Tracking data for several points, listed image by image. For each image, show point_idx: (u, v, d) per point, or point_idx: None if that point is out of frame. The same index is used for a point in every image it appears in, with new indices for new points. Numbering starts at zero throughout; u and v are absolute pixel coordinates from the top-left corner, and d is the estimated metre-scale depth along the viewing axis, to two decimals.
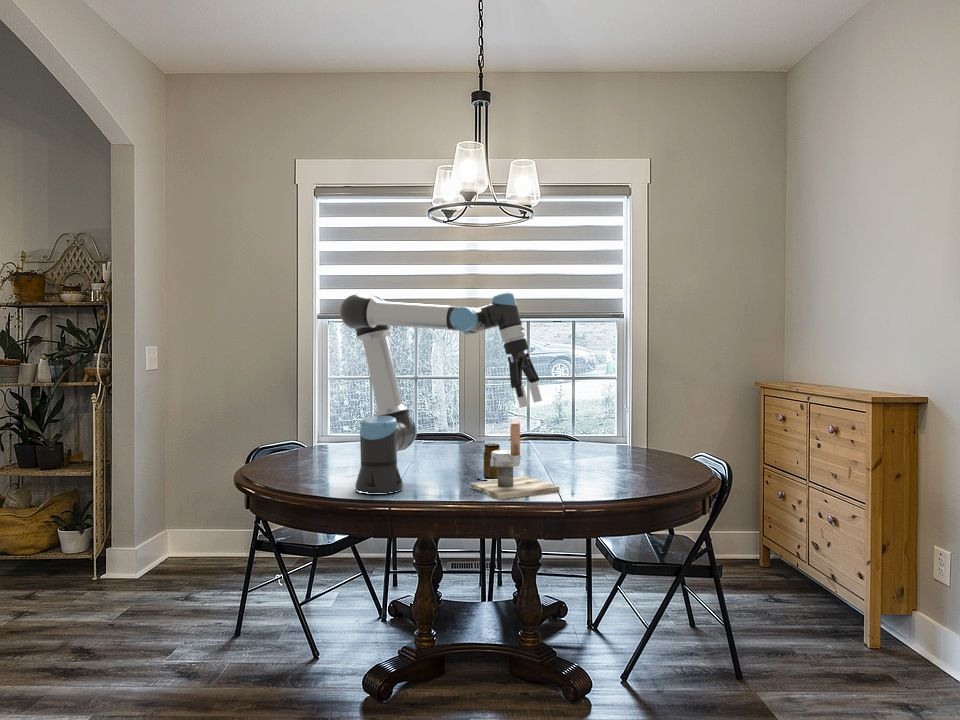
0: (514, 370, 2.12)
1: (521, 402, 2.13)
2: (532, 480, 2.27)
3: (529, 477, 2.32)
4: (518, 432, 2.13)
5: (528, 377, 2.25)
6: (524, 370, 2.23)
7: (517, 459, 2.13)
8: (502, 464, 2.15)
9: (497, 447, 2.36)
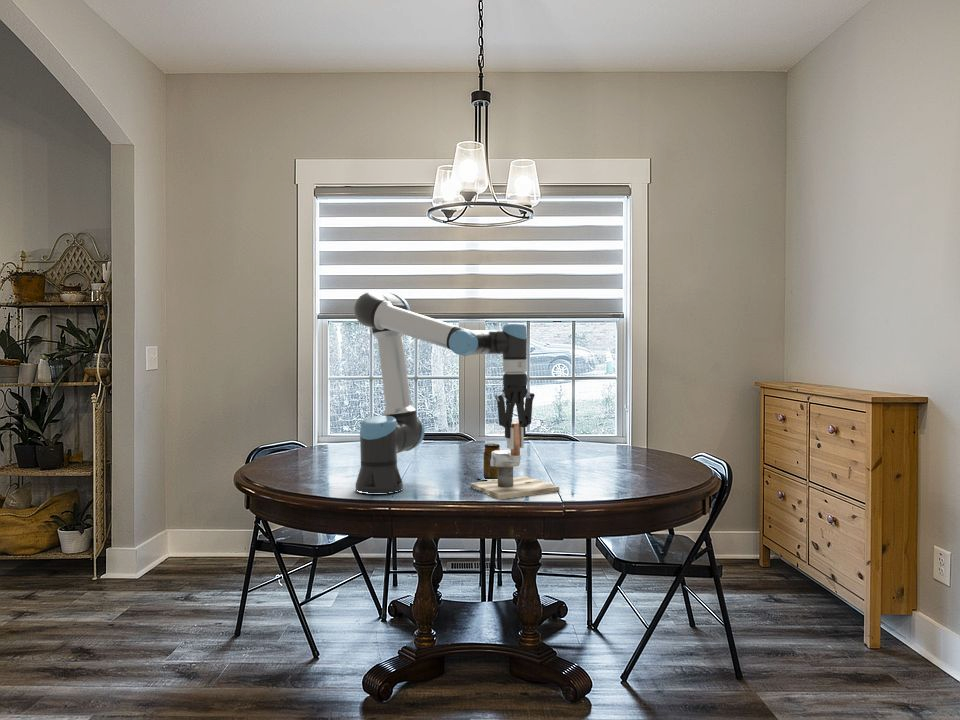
0: (500, 411, 2.10)
1: (508, 443, 2.13)
2: (532, 480, 2.27)
3: (529, 477, 2.32)
4: (518, 432, 2.13)
5: (519, 417, 2.15)
6: (517, 407, 2.15)
7: (517, 459, 2.13)
8: (502, 464, 2.15)
9: (497, 447, 2.36)
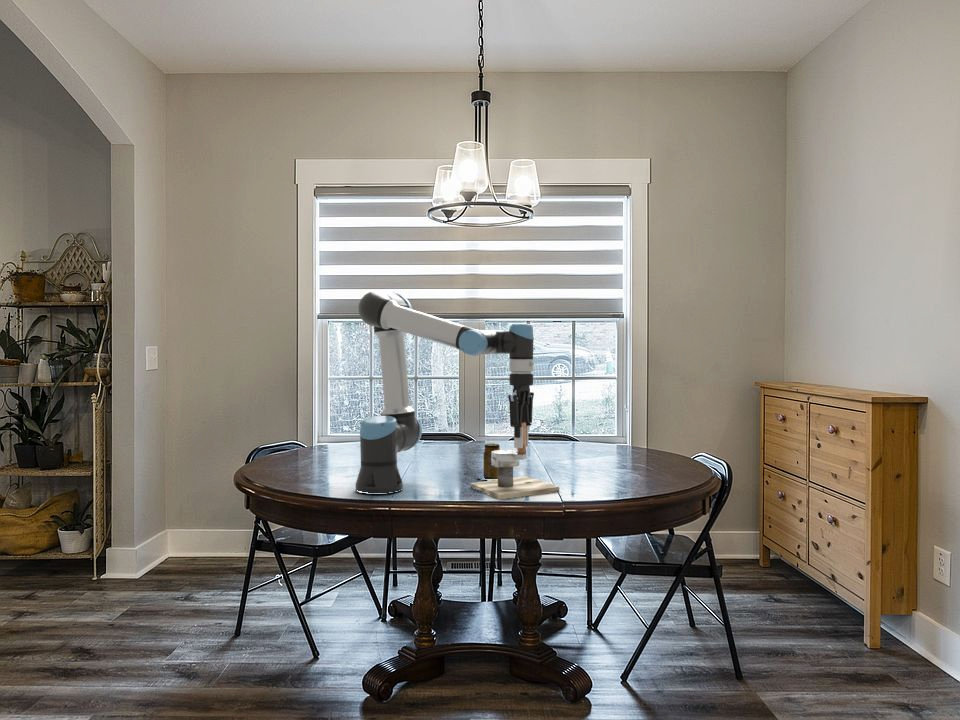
0: (514, 411, 2.10)
1: (516, 442, 2.14)
2: (532, 480, 2.27)
3: (529, 477, 2.32)
4: (525, 431, 2.15)
5: (522, 416, 2.17)
6: None
7: (524, 458, 2.15)
8: (509, 464, 2.15)
9: (497, 447, 2.36)
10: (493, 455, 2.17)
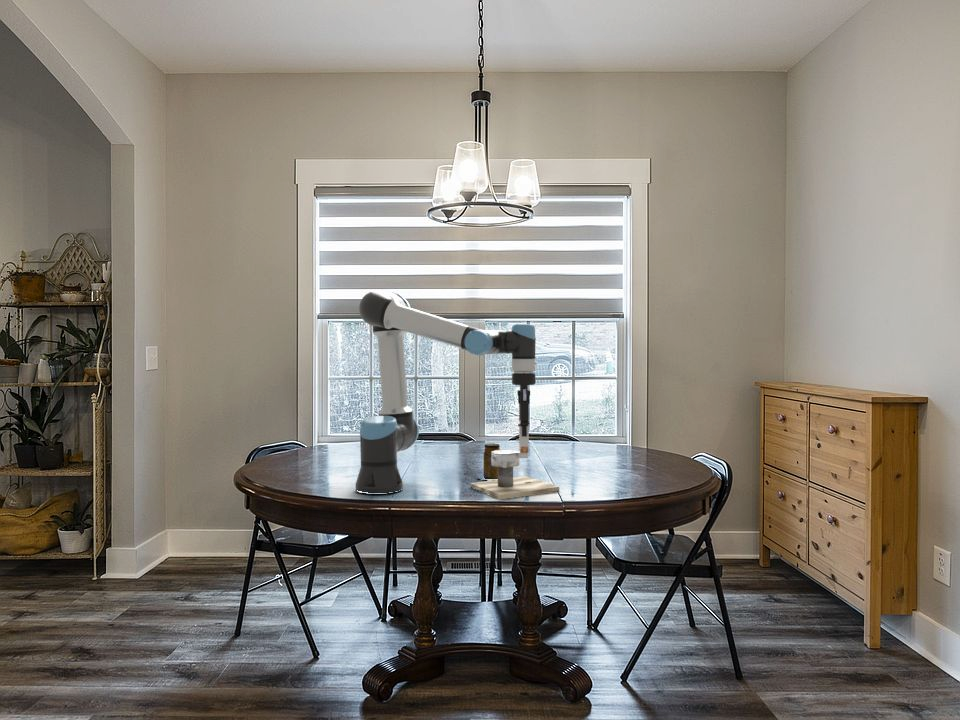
0: (526, 410, 2.13)
1: (522, 441, 2.16)
2: (532, 480, 2.27)
3: (529, 477, 2.32)
4: None
5: None
6: None
7: None
8: (515, 463, 2.16)
9: (497, 447, 2.36)
10: (498, 456, 2.15)
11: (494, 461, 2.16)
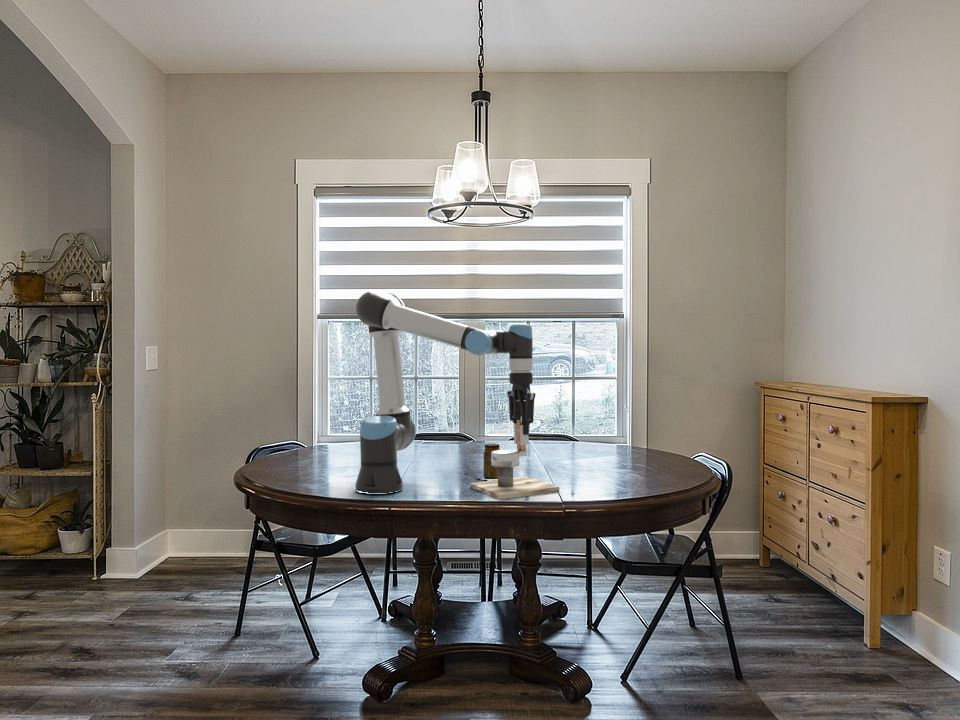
0: (531, 408, 2.17)
1: (524, 440, 2.19)
2: (532, 480, 2.27)
3: (529, 477, 2.32)
4: None
5: (516, 415, 2.23)
6: (517, 405, 2.22)
7: None
8: None
9: (497, 447, 2.36)
10: (506, 456, 2.15)
11: (500, 462, 2.15)
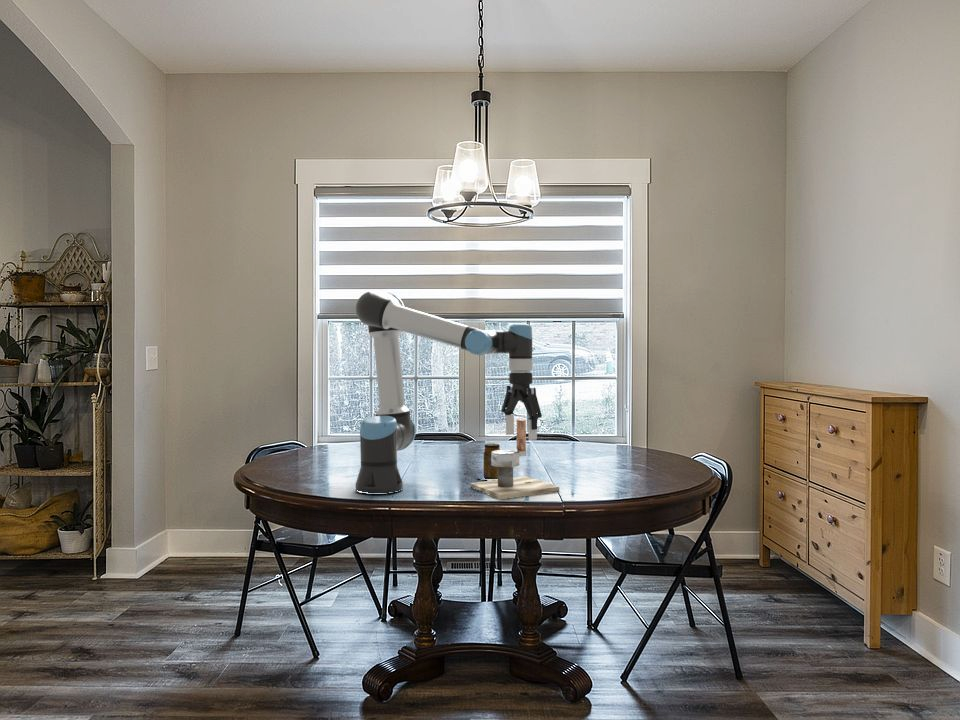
0: (536, 402, 2.15)
1: (532, 434, 2.15)
2: (532, 480, 2.27)
3: (529, 477, 2.32)
4: None
5: (509, 409, 2.26)
6: (513, 402, 2.24)
7: None
8: None
9: (497, 447, 2.36)
10: (506, 456, 2.15)
11: (500, 462, 2.15)
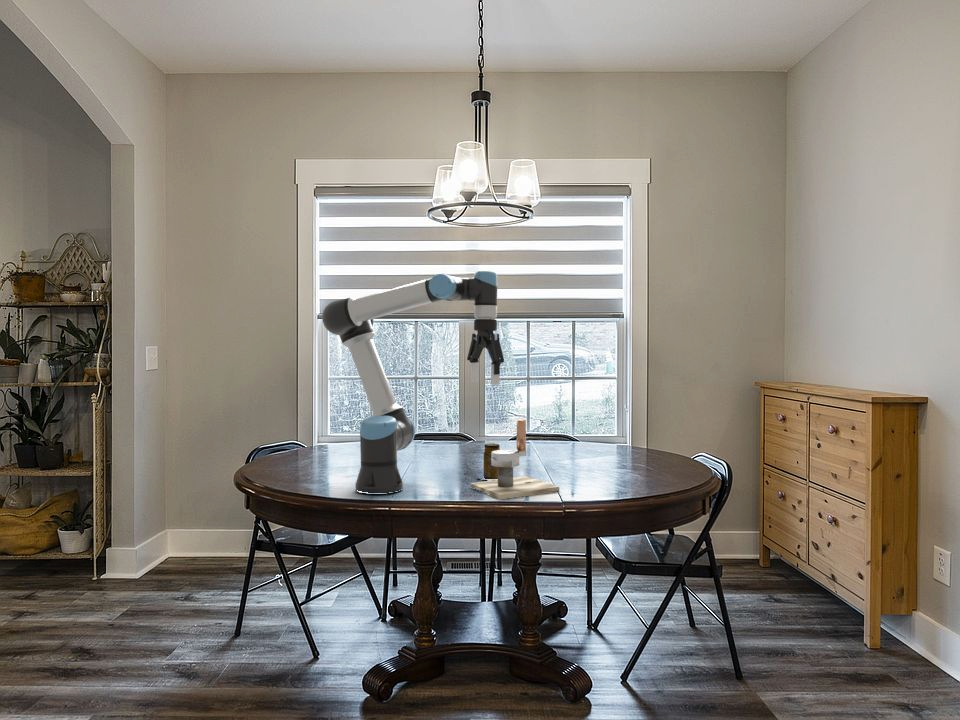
0: (499, 348, 2.17)
1: (494, 380, 2.18)
2: (532, 480, 2.27)
3: (529, 477, 2.32)
4: None
5: (474, 356, 2.29)
6: (478, 349, 2.27)
7: None
8: None
9: (497, 447, 2.36)
10: (506, 456, 2.15)
11: (500, 462, 2.15)
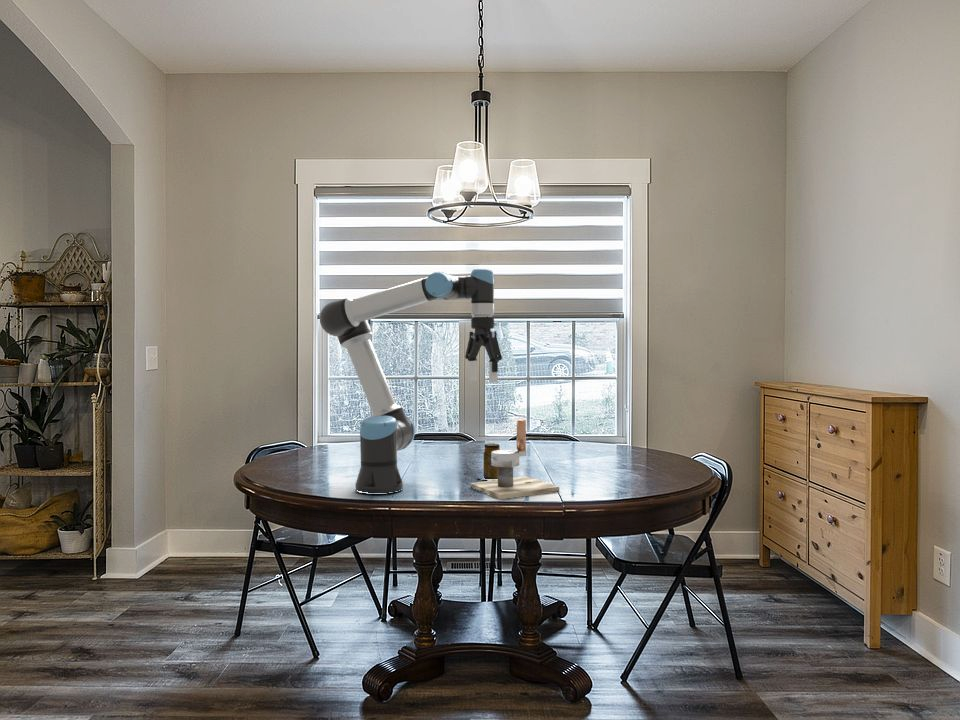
0: (496, 345, 2.17)
1: (492, 377, 2.18)
2: (532, 480, 2.27)
3: (529, 477, 2.32)
4: None
5: (472, 355, 2.29)
6: (475, 347, 2.27)
7: None
8: None
9: (497, 447, 2.36)
10: (506, 456, 2.15)
11: (500, 462, 2.15)
